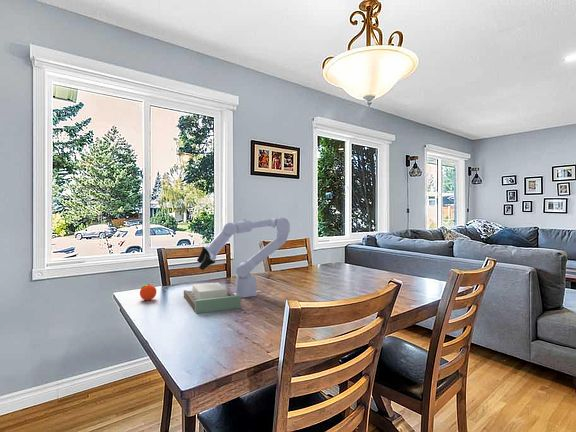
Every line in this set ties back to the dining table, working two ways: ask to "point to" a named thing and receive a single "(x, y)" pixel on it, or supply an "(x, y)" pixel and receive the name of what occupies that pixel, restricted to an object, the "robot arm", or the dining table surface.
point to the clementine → (147, 292)
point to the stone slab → (209, 290)
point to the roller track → (195, 297)
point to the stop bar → (217, 303)
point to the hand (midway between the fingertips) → (199, 265)
